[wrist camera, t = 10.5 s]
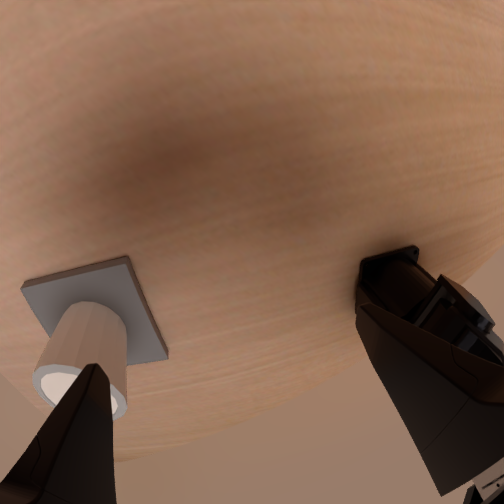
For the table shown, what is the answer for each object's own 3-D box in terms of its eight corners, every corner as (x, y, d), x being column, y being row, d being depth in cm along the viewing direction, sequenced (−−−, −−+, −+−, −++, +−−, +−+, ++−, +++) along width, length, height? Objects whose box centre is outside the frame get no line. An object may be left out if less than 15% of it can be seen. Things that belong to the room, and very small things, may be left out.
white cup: (96, 280, 19) (71, 352, 13) (150, 339, 22) (148, 412, 16) (42, 314, 19) (15, 379, 13) (94, 364, 23) (84, 429, 17)
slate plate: (127, 256, 20) (125, 263, 19) (168, 350, 25) (168, 359, 24) (24, 281, 18) (20, 288, 18) (76, 363, 24) (74, 371, 23)
